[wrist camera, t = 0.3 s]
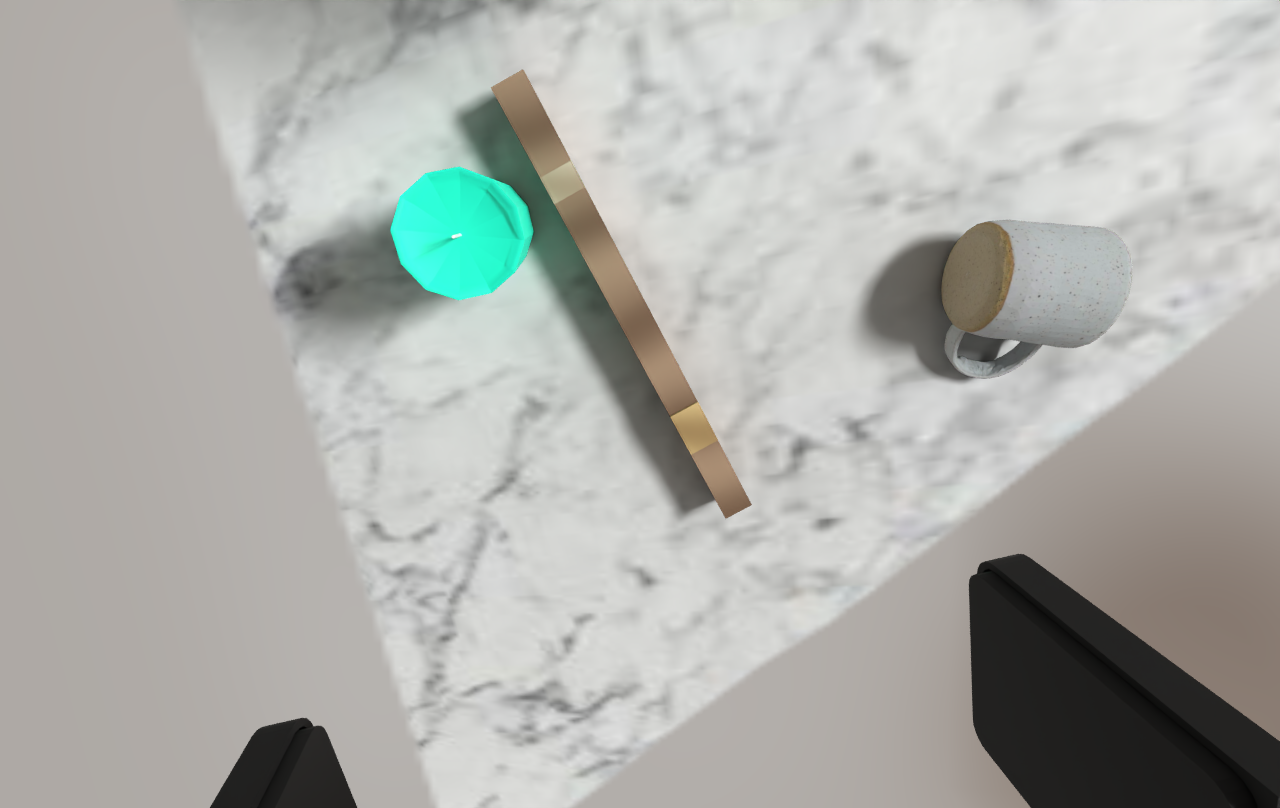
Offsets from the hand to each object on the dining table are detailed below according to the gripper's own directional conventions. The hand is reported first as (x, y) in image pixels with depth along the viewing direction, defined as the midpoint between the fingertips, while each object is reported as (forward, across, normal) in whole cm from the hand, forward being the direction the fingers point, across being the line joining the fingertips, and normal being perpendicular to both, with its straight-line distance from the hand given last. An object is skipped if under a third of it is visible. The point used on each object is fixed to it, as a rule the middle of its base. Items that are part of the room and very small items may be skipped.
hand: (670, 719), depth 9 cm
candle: (+35, +5, -7) cm, 36 cm away
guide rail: (+35, -3, 0) cm, 35 cm away
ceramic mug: (+35, -28, +4) cm, 45 cm away
